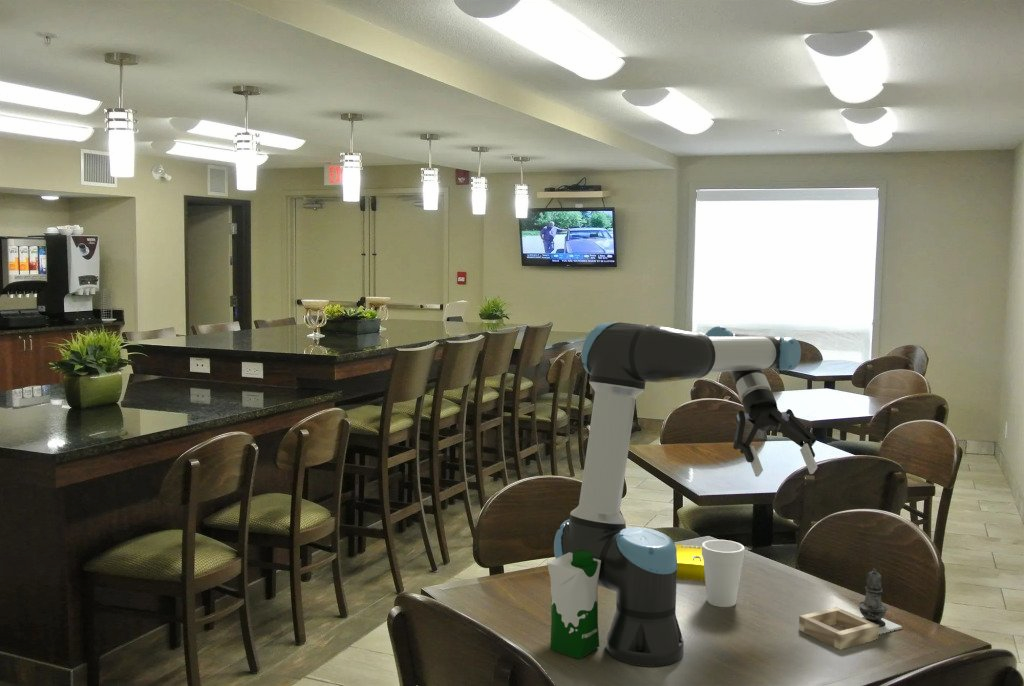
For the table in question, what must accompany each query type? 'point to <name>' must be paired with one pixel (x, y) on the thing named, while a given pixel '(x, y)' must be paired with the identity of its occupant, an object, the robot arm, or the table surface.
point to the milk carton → (574, 603)
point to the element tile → (690, 562)
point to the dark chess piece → (873, 600)
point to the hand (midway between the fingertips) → (786, 472)
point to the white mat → (887, 626)
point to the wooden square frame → (853, 635)
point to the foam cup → (722, 571)
